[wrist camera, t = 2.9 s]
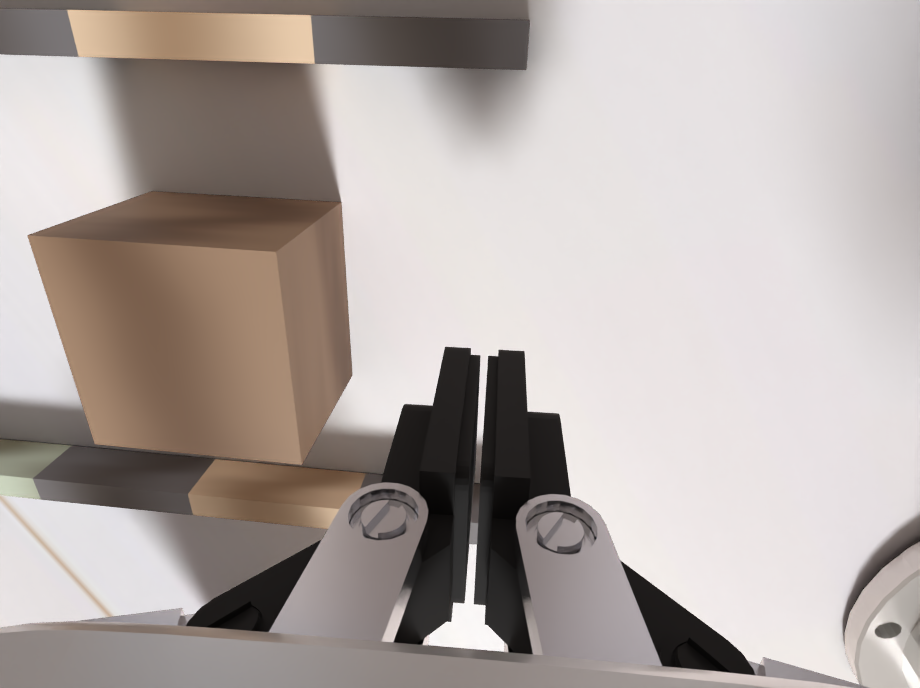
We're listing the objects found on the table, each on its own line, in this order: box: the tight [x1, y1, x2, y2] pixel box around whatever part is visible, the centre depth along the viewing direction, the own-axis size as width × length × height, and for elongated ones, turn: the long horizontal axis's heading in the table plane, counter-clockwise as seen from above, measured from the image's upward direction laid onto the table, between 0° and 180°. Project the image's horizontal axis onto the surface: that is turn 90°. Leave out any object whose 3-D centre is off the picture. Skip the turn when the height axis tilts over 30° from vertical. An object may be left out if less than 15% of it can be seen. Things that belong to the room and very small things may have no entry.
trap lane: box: [0, 8, 530, 544], centre depth 18 cm, size 26×16×2 cm, turn 88°
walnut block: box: [27, 191, 352, 465], centre depth 17 cm, size 6×6×5 cm
